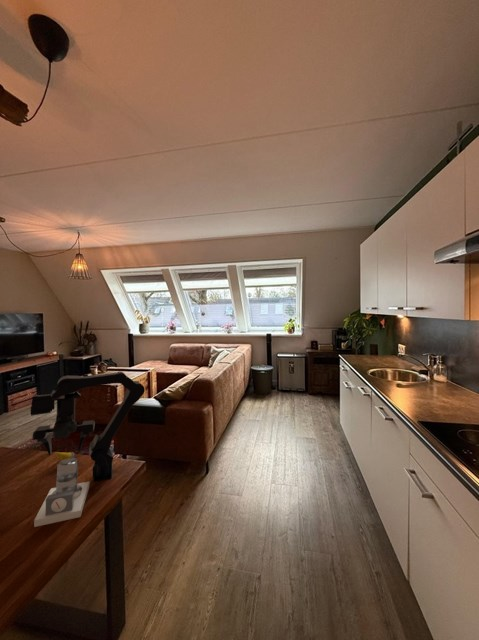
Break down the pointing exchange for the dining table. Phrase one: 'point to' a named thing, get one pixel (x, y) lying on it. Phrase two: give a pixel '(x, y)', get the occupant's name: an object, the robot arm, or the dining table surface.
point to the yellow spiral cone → (64, 455)
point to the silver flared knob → (67, 470)
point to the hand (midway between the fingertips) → (65, 452)
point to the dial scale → (62, 505)
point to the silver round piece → (66, 486)
